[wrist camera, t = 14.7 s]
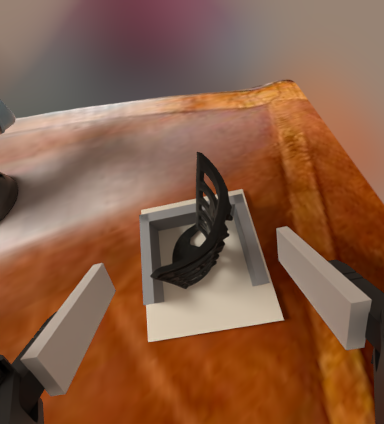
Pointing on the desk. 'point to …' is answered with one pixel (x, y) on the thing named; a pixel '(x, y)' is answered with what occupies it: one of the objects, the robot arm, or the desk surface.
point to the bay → (215, 279)
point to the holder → (215, 231)
